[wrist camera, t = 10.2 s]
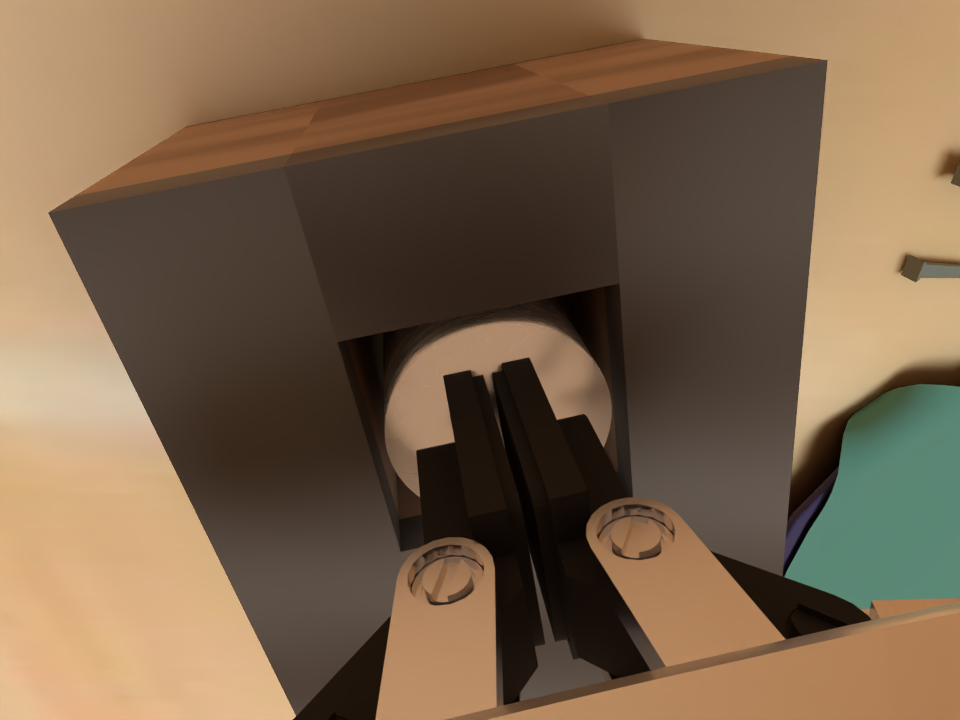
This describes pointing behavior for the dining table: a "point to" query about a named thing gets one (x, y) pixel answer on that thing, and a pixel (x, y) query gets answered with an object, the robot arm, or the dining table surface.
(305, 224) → the peg block
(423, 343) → the steel peg
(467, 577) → the robot arm
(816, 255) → the dining table surface
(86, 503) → the dining table surface
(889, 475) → the cutlery set
